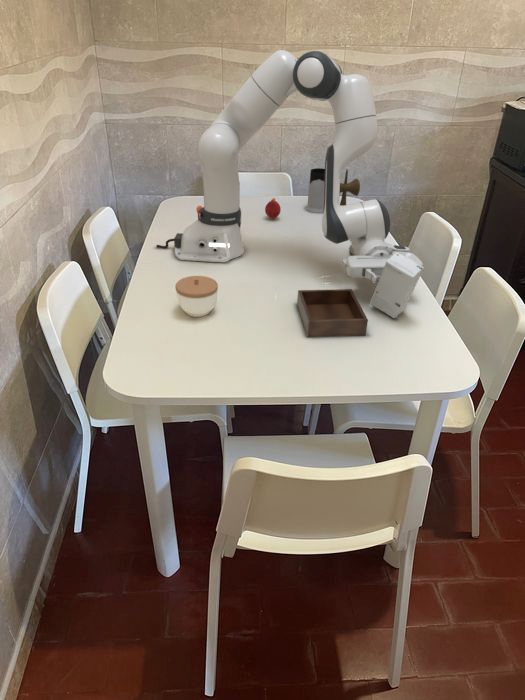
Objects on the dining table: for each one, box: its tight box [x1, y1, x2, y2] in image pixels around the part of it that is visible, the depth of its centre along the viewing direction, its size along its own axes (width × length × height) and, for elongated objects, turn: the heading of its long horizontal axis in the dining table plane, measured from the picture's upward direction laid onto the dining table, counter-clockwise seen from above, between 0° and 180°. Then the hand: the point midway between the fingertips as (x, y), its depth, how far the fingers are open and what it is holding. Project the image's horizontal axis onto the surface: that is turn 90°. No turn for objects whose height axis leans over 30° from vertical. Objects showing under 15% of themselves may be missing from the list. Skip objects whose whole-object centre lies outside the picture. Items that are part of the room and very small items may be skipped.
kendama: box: [339, 169, 361, 206], centre depth 192 cm, size 6×10×20 cm, turn 101°
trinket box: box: [175, 275, 219, 318], centre depth 136 cm, size 11×11×9 cm
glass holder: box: [305, 167, 325, 214], centre depth 209 cm, size 9×14×15 cm, turn 170°
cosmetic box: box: [369, 252, 425, 319], centre depth 136 cm, size 8×6×15 cm
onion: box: [264, 197, 282, 220], centre depth 198 cm, size 6×6×8 cm
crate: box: [296, 288, 369, 338], centre depth 136 cm, size 15×17×4 cm
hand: (392, 279), depth 136 cm, fingers closed on cosmetic box, 7 cm apart
